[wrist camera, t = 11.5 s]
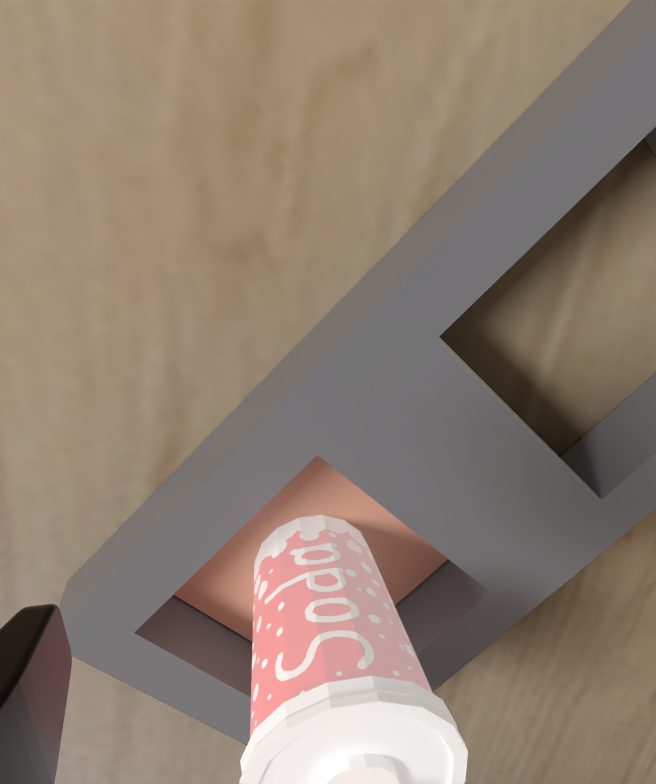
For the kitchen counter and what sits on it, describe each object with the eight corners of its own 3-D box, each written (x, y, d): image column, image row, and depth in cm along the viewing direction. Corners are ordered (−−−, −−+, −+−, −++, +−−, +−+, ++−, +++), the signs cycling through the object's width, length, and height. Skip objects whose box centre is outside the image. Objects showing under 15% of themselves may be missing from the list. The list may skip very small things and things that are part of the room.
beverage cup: (402, 502, 24) (605, 936, 11) (372, 624, 26) (512, 1099, 13) (243, 493, 23) (266, 969, 10) (226, 622, 25) (228, 1143, 12)
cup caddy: (637, -5, 18) (709, -27, 15) (815, 289, 23) (893, 312, 20) (67, 582, 23) (46, 642, 21) (312, 719, 28) (321, 783, 26)
